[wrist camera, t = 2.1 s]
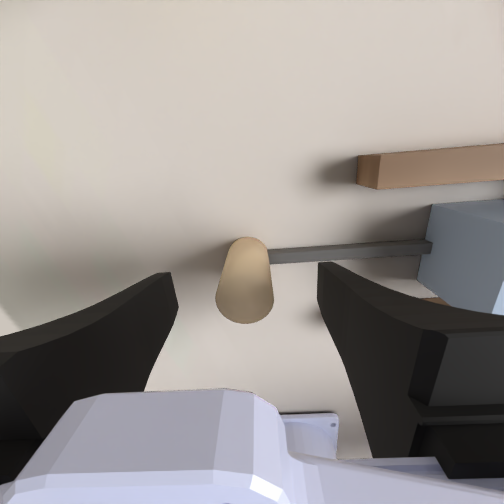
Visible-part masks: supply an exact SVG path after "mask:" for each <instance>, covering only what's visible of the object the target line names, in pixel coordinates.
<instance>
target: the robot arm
mask: <svg viewBox="0 0 504 504" xmlns="http://www.w3.org/2000/svg"><path fill="white" fill-rule="evenodd" d="M317 301H318V304H319V308H320V311H321V314H322V317H323V319H324V322H325V324H326V326H327V328H328V330H329V333H330V335H331V337H332V339H333V341H334V343H335V346H336V348H337V350H338V352H339V354H340V356H341V359H342V361H343V364H344V366H345V369H346V372H347V375H348V378H349V381H350V384H351V387H352V390H353V393H354V396H355V399H356V403H357V406H358V409H359V412H360V415H361V419H362V422H363V425H364V429H365V432H366V435H367V439H368V442H369V446H370V449H371V453H372V456H373V458H371V459H337V458H336V450H337V439H338V428H339V418H338V415H337V414H335V413H319V414H291V415H280V414H279V412H278V410H277V408H276V407H275V406H273V405H272V404H270V403H269V402H267V401H265V400H264V399H262V398H260V397H259V396H257V395H256V394H254V393H252V392H247V391H241V390H234V389H227V388H222V389H198V390H174V391H151V392H144V389H145V386H146V383H147V381H148V378H149V375H150V373H151V370H152V368H153V366H154V364H155V362H156V359H157V357H158V355H159V353H160V351H161V349H162V347H163V345H164V343H165V341H166V339H167V337H168V335H169V333H170V331H171V328H172V326H173V324H174V321H175V318H176V315H177V311H178V308H179V306H178V302H177V298H176V294H175V289H174V285H173V281H172V277H171V272H165V273H157V274H154V275H152V276H150V277H148V278H146V279H144V280H142V281H140V282H138V283H136V284H134V285H133V286H131V287H129V288H127V289H125V290H123V291H121V292H119V293H117V294H115V295H113V296H111V297H109V298H107V299H105V300H103V301H101V302H99V303H97V304H95V305H93V306H90V307H88V308H86V309H83V310H81V311H78V312H76V313H73V314H71V315H68V316H65V317H62V318H59V319H57V320H54V321H51V322H48V323H45V324H42V325H39V326H36V327H33V328H29V329H26V330H23V331H19V332H15V333H12V334H9V335H4V336H1V337H0V504H504V315H498V314H491V313H484V312H477V311H472V310H467V309H462V308H457V307H451V306H447V305H443V304H438V303H434V302H430V301H427V300H423V299H419V298H416V297H412V296H409V295H406V294H403V293H400V292H397V291H394V290H391V289H389V288H386V287H384V286H381V285H379V284H377V283H374V282H372V281H370V280H368V279H366V278H363V277H361V276H359V275H357V274H355V273H353V272H351V271H350V270H348V269H346V268H344V267H342V266H340V265H338V264H336V263H333V262H319V263H318V281H317Z"/></svg>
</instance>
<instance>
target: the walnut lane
mask: <svg viewBox="0 0 504 504" xmlns="http://www.w3.org/2000/svg"><path fill="white" fill-rule="evenodd" d="M494 180H504V143H501V144H489V145H478V146H466V147H454V148H442V149H430V150H418V151H406V152H394V153H382V154H371V155H359V156H358V167H357V179H356V184H358V185H362V186H366V187H369V188H373V189H377V190H378V189H391V188H404V187H417V186H429V185H442V184H455V183H468V182H481V181H494ZM423 300H427V301H430V302H434V303H438V304H443V305H447V306H450V305H449V304H448V303H446V302H445V301H444V300H443V299H441V298H426V299H423ZM451 307H452V306H451Z"/></svg>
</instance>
